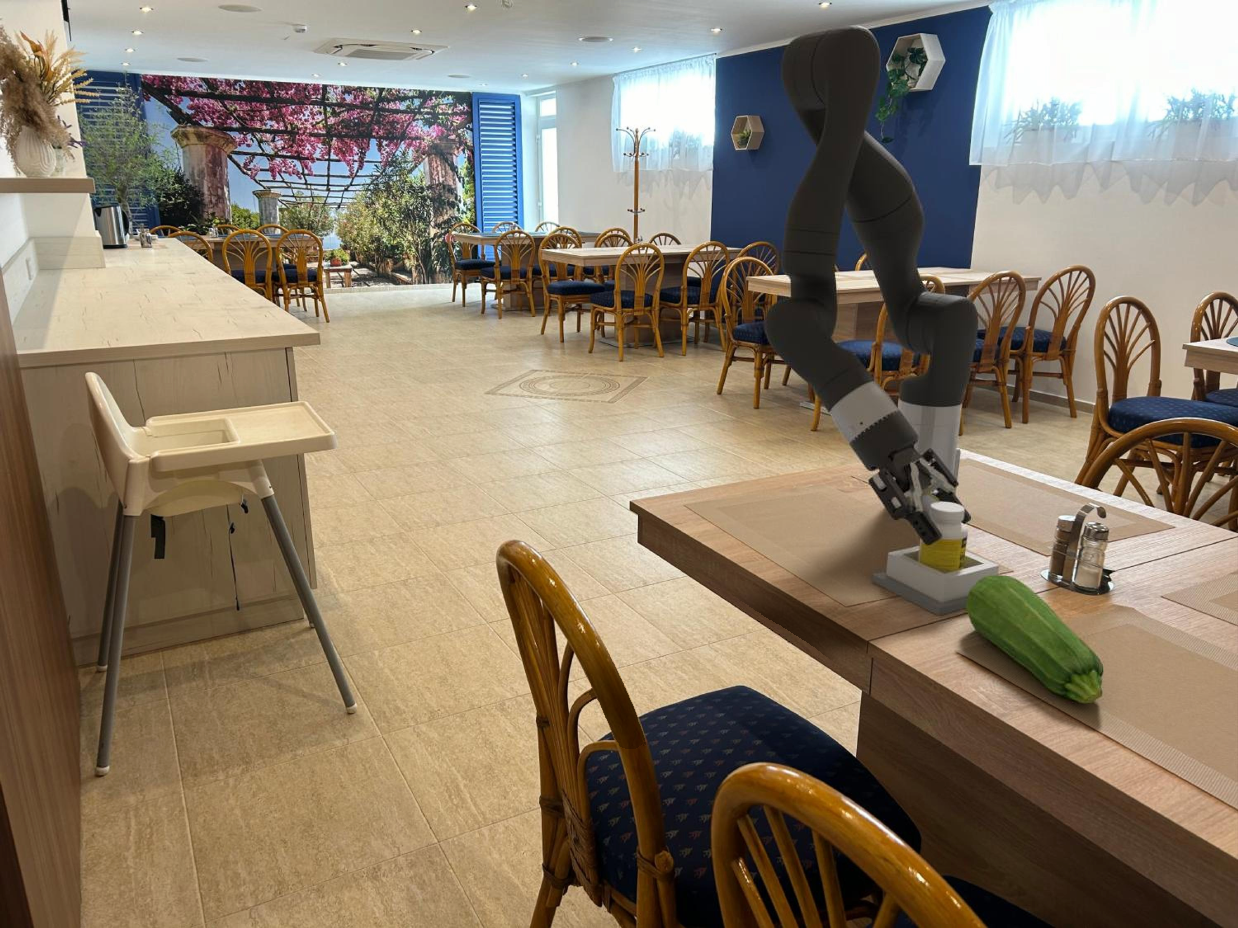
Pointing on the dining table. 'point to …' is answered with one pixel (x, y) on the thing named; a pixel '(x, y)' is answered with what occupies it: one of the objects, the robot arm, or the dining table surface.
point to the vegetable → (1034, 637)
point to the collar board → (932, 580)
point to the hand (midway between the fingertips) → (950, 532)
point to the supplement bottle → (946, 539)
